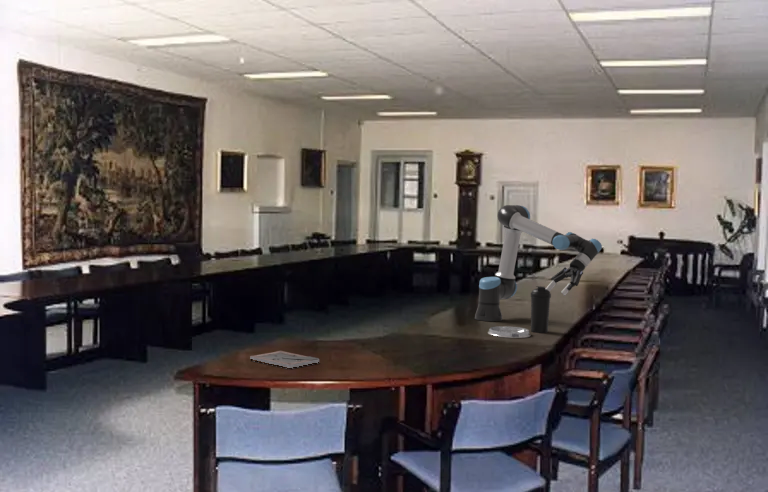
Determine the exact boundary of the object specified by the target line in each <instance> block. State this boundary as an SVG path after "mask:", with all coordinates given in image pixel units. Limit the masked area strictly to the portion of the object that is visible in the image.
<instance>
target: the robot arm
mask: <svg viewBox="0 0 768 492" xmlns="http://www.w3.org/2000/svg"><path fill="white" fill-rule="evenodd" d="M497 221H498V222H499V223H500V224H501V225H502V226H503V229H504V230H505V233H504V238H503V243H502V249H501V253H500V254H501V255H500V260H499V266H498V271H496V273H494V276H486V277H482V278H480V280H479V285H478V305H477V309H476V312H475V314H474V319H475V320H477V321H483V322H501V321H503V315H502V314H503V313H502V309H501V308H500V306H501V305H500V304H501V303H500V301H501V300H508V299H510V298H512V297H514V296H515V294H516V293H517V290H518V284H517V282H516V276H515V275H514V272H515V267H516V261H517V256H518V252H519V245H520V240H521V236H522V233H524V234H526V235H528V236H531V237H533V238H536V239H538V240H540V241H543V242H544V243H547V244H549V245H552V246H553V248H555V249H556V250H560V251H566V250H574V251H576V252H577V255H576V256H575V257H574V258H573V259H572V261H571V262H570V263H569V267H568V268H567V267H563V269H561V270H560V271H558V272H557V273H556V274H554V275H553V276H552V277H551V278H550V280H551V281H550V282H549V284H548V285H547V286H546V287H545V289H547V290H549V291H550V292H551V291H552V290H553V288H554V287H555V286H556V285H557V283H559V282H560V281H563V280H564V279H567V278H570V282H568V283H567V284H566V286H565V287H564V288H563V289H562V290H561V291H560V292H561V294H562V295H563V297H564V296H566V295H567V294H568V293H569V291H571V290H572V289H573V288H574V287H578V286H579V284H580V280H581V277H582V276H583V275H584V271H585V269H586V268H587V267H588V266H589V264H590V263H591V262H592V261H593V260H594V259H595V257H596V256H597V255H598V254H599V253H600V251H601V250H602V248H603V247H602V246H603V245H602V243H601V242H600V240H598V239H596V238H591V239H589V240H588V239H586V238H584V237H582V236H580V235H578V234H577V233H575V232H574V233H573V232H571V231H569V232H568V231H567V233H566V234H564V233H561V232H559V231H556V230H554V229H553V228H550V227H547V226H546V225H543V224H541V223H538V222H536V221H534V220H532V219H531V213H530V211H529V209H528V208H527V207H525V206H523V205H518V204H506V205H503V206H501V207H500V208H499V210H498V211H497Z"/></svg>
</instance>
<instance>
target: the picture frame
mask: <svg viewBox="0 0 768 492" xmlns="http://www.w3.org/2000/svg"><path fill="white" fill-rule="evenodd" d="M249 357H250V358H249V359H253V360H257V361H261V362H265V363H269V364H274V365H279V366H283V367H287V368H292V369H294V368H293V367H297V368H300V367H299V366H302V367H304V366H303V365H307V366H309V365H308V364H312V363H317V364H319V363H320V358H319V357H314V356H306V355H302V354H298V353H292V352H288V351H283V350H277V351H274V352H273V351H272V352H265V353H262V354H256V355H250V356H249ZM318 362H319V363H318ZM312 365H313V364H312ZM287 368H286V369H287Z"/></svg>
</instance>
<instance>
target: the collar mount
mask: <svg viewBox="0 0 768 492" xmlns="http://www.w3.org/2000/svg"><path fill="white" fill-rule="evenodd" d="M487 334H488V335H490V336H492V335H493V336H492V337H497V336H498V337H499V338H506V339H507V338H509V339H524V338H525V339H526V338H530V337H531V333H530V329H528V328H525V327H519V326H509V325H507V326H506V325H505V326H503V325H502V326H501V325H500V326H499V325H498V326H491V327H490V328H489V329H488V331H487Z"/></svg>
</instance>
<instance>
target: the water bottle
mask: <svg viewBox="0 0 768 492" xmlns="http://www.w3.org/2000/svg"><path fill="white" fill-rule="evenodd" d="M535 287H536V288H534V289H532V291H531V292H530V302H531V303H530V305H531V306H530V332H532V333H539V334H546V333H548V331H549V319H550V305H551V304H550V303H551V298H552V293H551V291H549V290H547V289H546V287H545V286H541V285H540V286H535Z"/></svg>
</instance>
